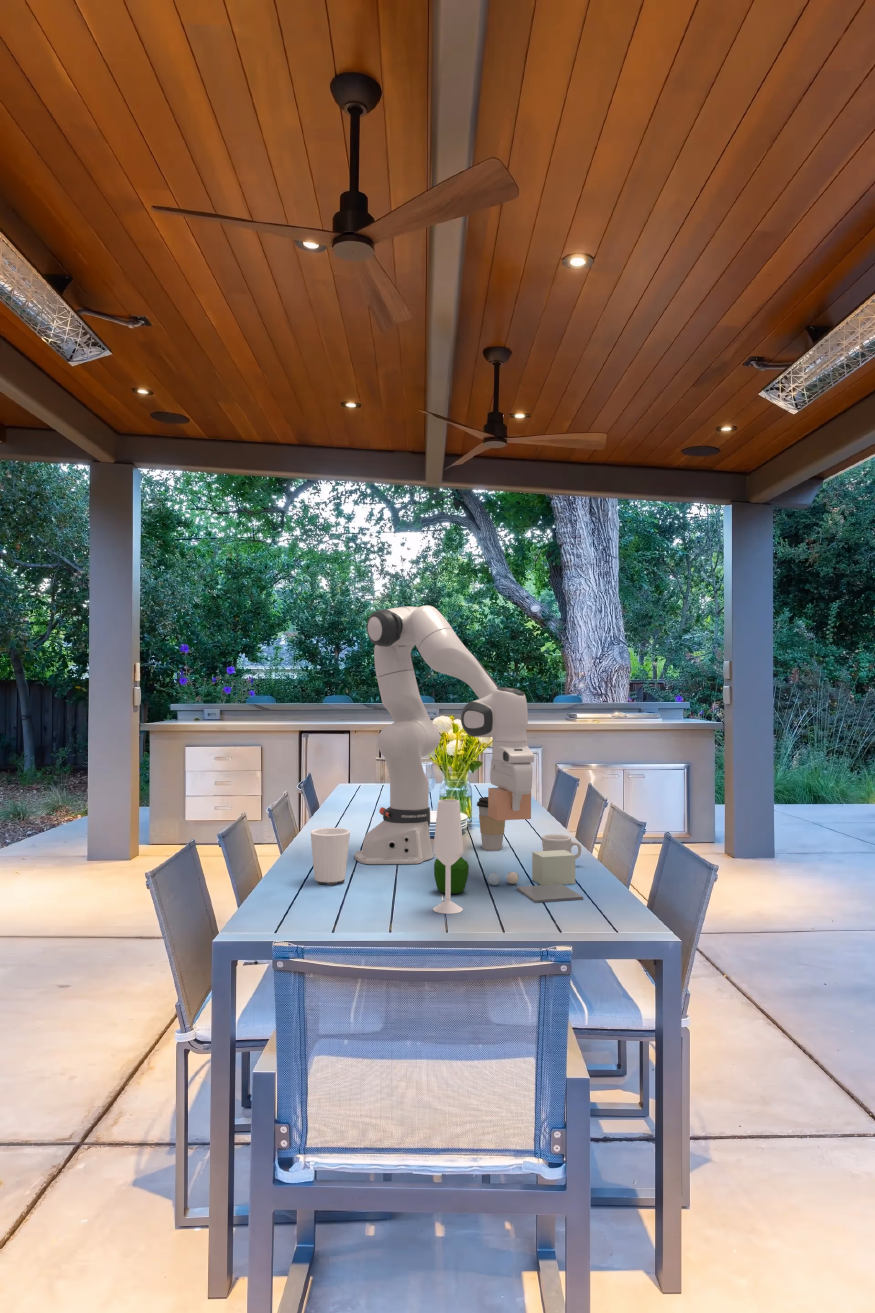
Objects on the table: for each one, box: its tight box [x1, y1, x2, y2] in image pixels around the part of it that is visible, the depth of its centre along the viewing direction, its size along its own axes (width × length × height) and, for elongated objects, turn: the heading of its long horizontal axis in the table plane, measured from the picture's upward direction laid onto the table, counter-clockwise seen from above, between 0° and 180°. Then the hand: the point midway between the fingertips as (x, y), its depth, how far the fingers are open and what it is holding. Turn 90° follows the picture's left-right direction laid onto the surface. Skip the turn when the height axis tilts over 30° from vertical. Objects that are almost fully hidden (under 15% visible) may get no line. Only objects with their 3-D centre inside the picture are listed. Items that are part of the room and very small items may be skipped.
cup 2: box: [541, 833, 582, 860], centre depth 223 cm, size 11×8×8 cm
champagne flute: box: [432, 799, 464, 915], centre depth 181 cm, size 7×7×24 cm
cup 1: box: [310, 827, 351, 887], centre depth 204 cm, size 10×10×13 cm
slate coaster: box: [516, 884, 584, 904], centre depth 194 cm, size 12×12×1 cm
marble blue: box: [487, 872, 501, 886], centre depth 202 cm, size 3×3×3 cm
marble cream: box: [506, 871, 520, 885], centre depth 204 cm, size 3×3×3 cm
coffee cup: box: [476, 796, 506, 852], centre depth 245 cm, size 9×9×15 cm
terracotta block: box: [487, 787, 532, 821], centre depth 204 cm, size 9×6×7 cm
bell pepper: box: [433, 856, 470, 895], centre depth 196 cm, size 8×8×10 cm
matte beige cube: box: [531, 850, 576, 886], centre depth 206 cm, size 9×6×7 cm
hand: (509, 807), depth 204 cm, fingers closed on terracotta block, 6 cm apart
